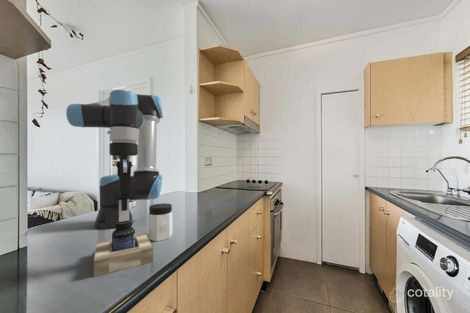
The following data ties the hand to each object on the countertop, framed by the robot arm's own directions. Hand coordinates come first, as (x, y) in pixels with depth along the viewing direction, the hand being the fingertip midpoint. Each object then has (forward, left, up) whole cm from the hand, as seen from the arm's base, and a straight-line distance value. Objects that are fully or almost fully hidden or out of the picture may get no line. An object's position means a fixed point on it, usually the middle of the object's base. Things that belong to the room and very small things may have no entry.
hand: (124, 220), depth 61 cm
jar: (-12, +13, -12) cm, 21 cm away
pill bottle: (0, 0, -12) cm, 12 cm away
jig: (-1, 0, -11) cm, 11 cm away
